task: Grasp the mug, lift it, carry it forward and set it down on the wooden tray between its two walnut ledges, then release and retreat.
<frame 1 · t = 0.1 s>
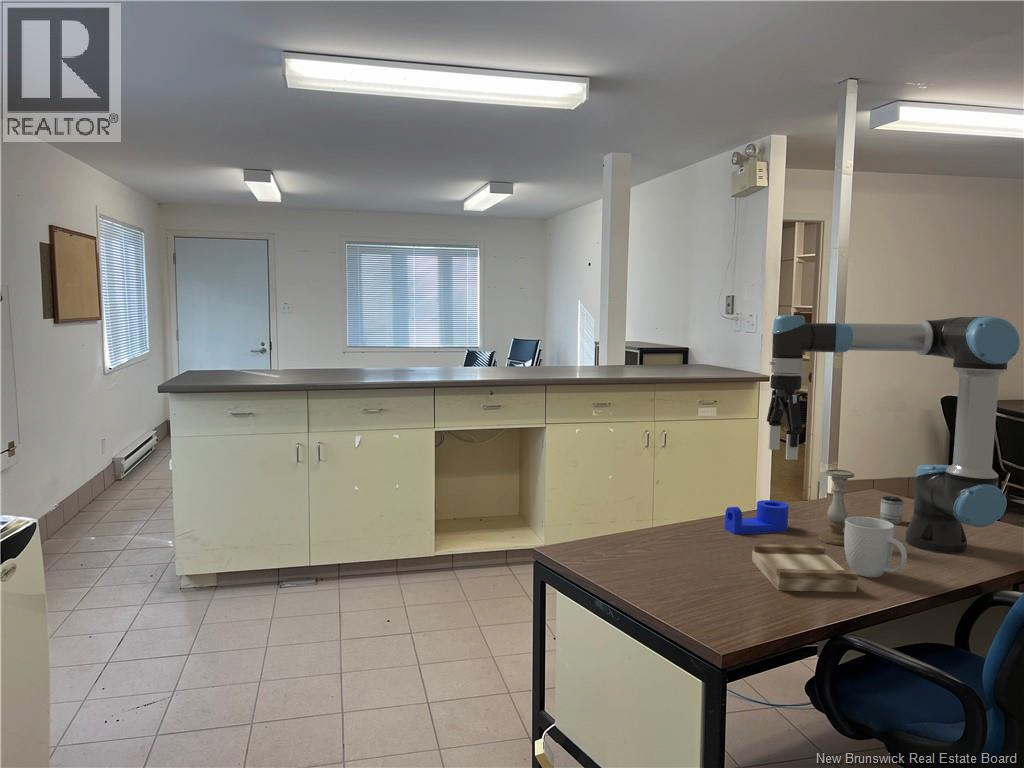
hand: (782, 454, 183), 28 cm above the table, fingers open, 13 cm apart
bracket: (756, 530, 211), on the table
wooden tray: (800, 575, 172), on the table
camera lens: (890, 522, 220), on the table
mug: (870, 575, 174), on the table
candle holder: (835, 541, 200), on the table
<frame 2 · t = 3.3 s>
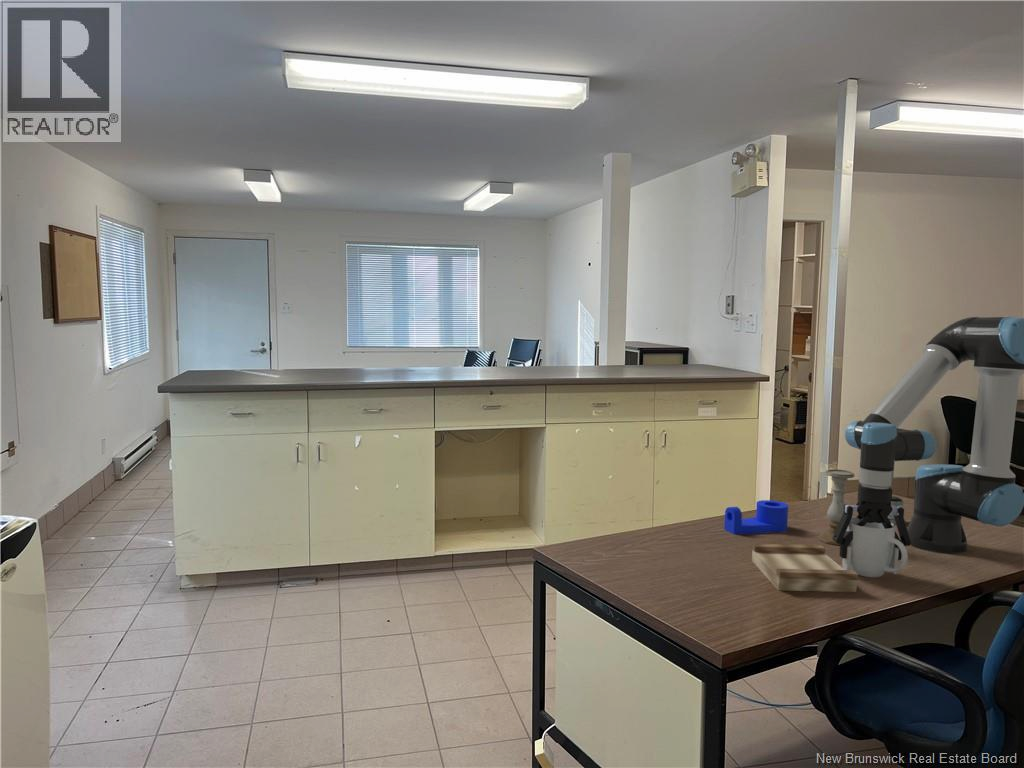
hand: (869, 571, 174), 1 cm above the table, fingers closed on mug, 11 cm apart
mug: (871, 575, 174), on the table, touching gripper
everything else where it was.
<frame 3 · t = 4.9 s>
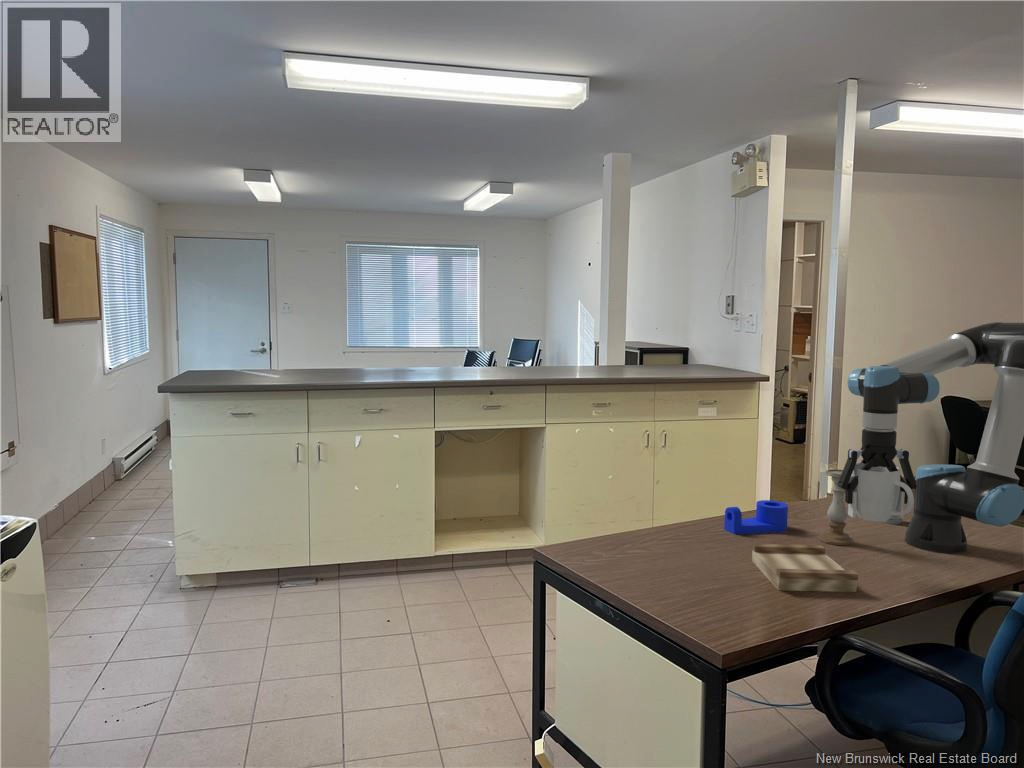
hand: (875, 516, 172), 15 cm above the table, fingers closed on mug, 11 cm apart
mug: (877, 520, 172), point 14 cm above the table, touching gripper
everything else where it was.
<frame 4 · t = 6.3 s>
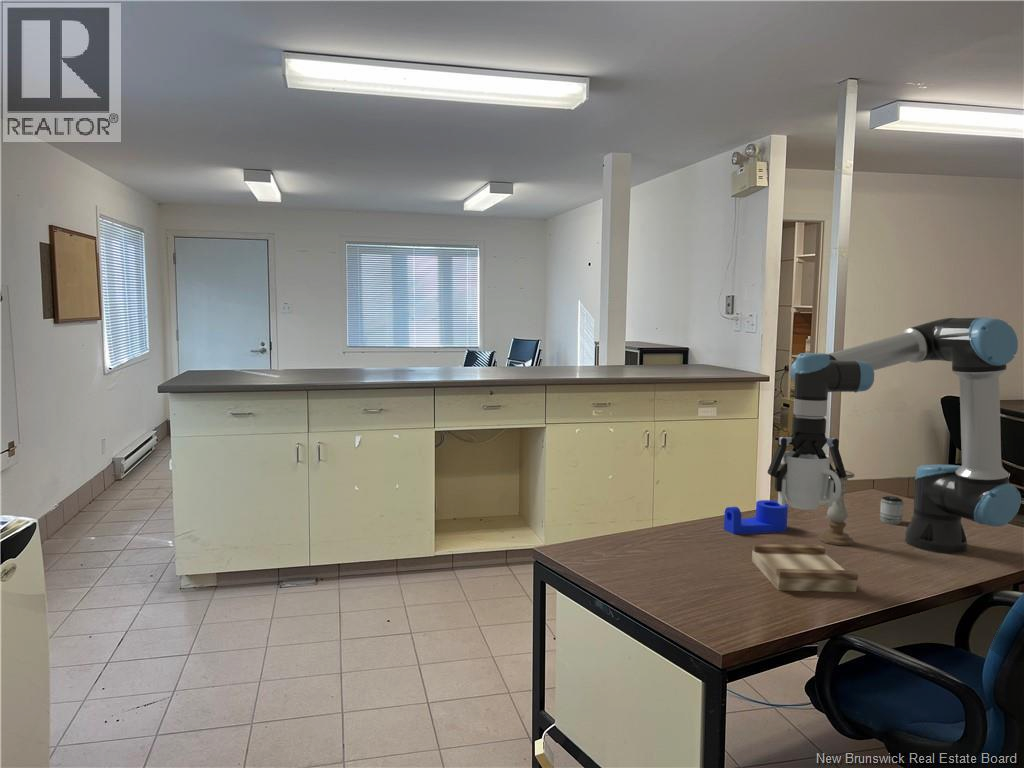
hand: (804, 504, 171), 18 cm above the table, fingers closed on mug, 11 cm apart
mug: (807, 508, 171), point 17 cm above the table, touching gripper
everything else where it was.
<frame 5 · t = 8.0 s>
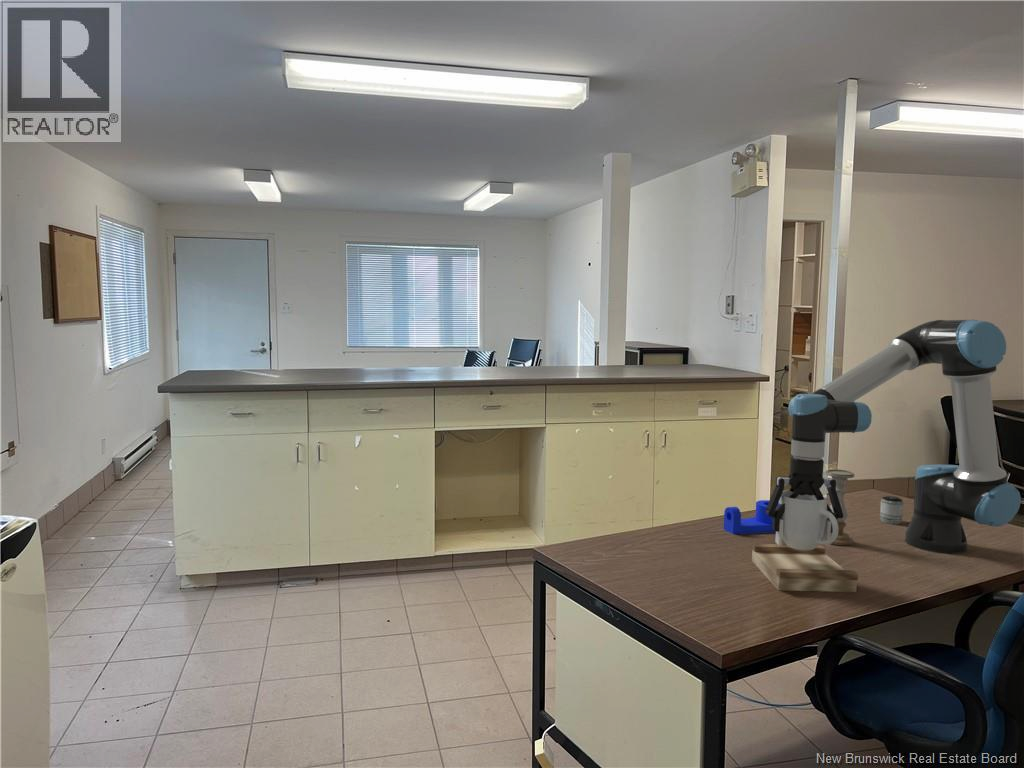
hand: (802, 544, 171), 8 cm above the table, fingers closed on mug, 11 cm apart
mug: (804, 548, 172), point 7 cm above the table, touching gripper
everything else where it was.
when the fingers open (5 cm above the table, at t = 9.2 s): mug drops 2 cm, resting on wooden tray.
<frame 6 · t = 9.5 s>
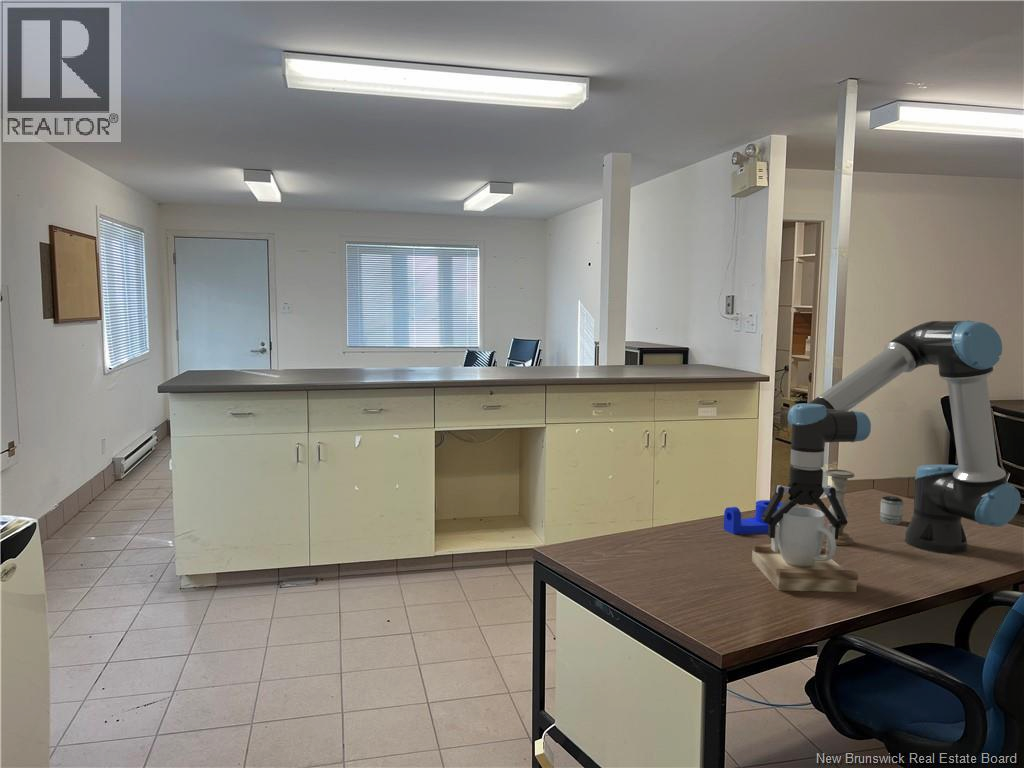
hand: (802, 551, 172), 6 cm above the table, fingers open, 13 cm apart
mug: (802, 564, 172), point 3 cm above the table, touching wooden tray
everything else where it was.
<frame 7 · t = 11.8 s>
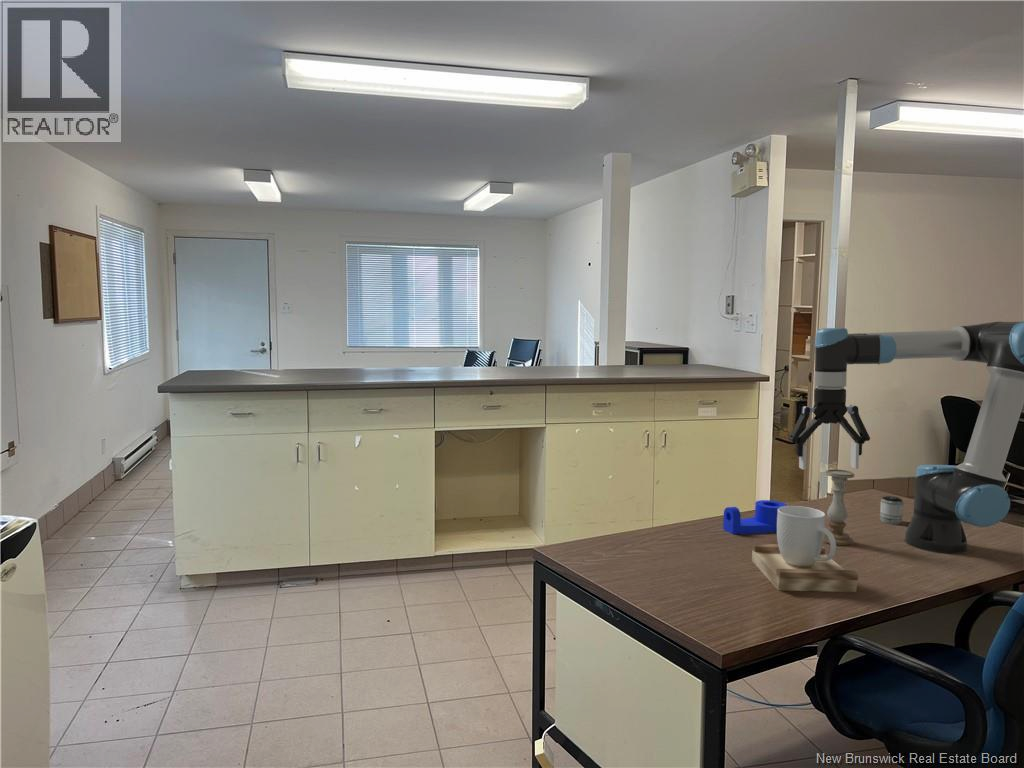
hand: (828, 468, 181), 25 cm above the table, fingers open, 13 cm apart
nothing on the table moved.
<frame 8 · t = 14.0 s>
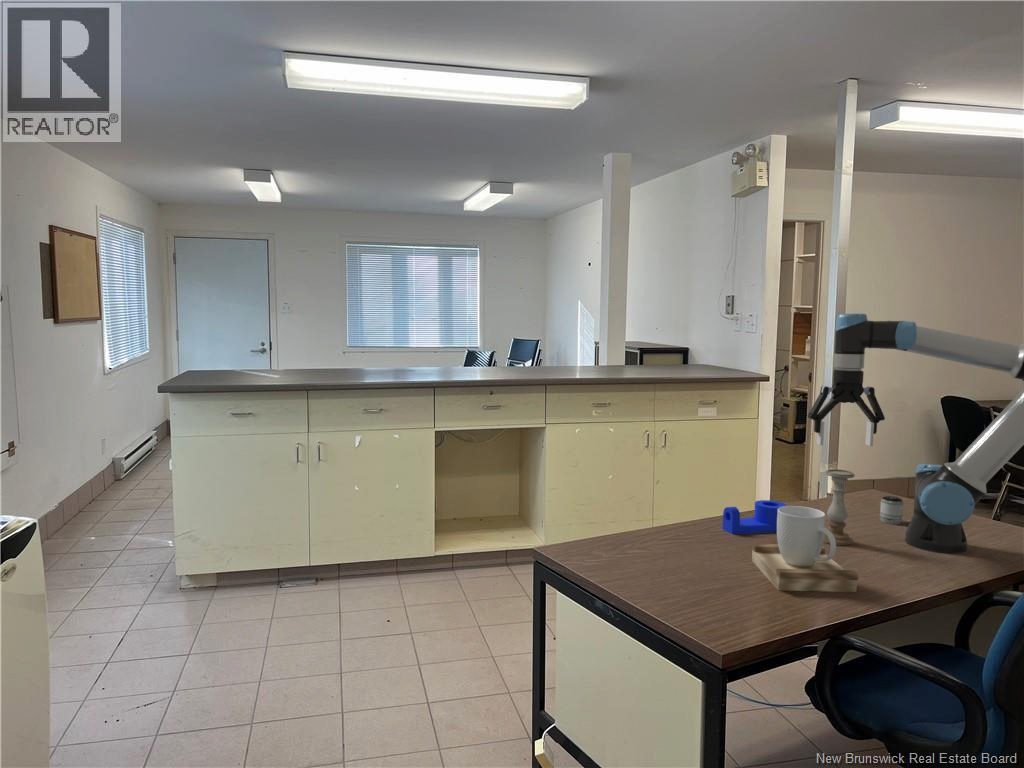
hand: (844, 445, 194), 29 cm above the table, fingers open, 13 cm apart
nothing on the table moved.
at the end: mug inside the target area on the wooden tray (0.2 cm from its centre), point 2.8 cm above the wooden tray's base; mug tilted 0°; the gripper is holding nothing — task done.
